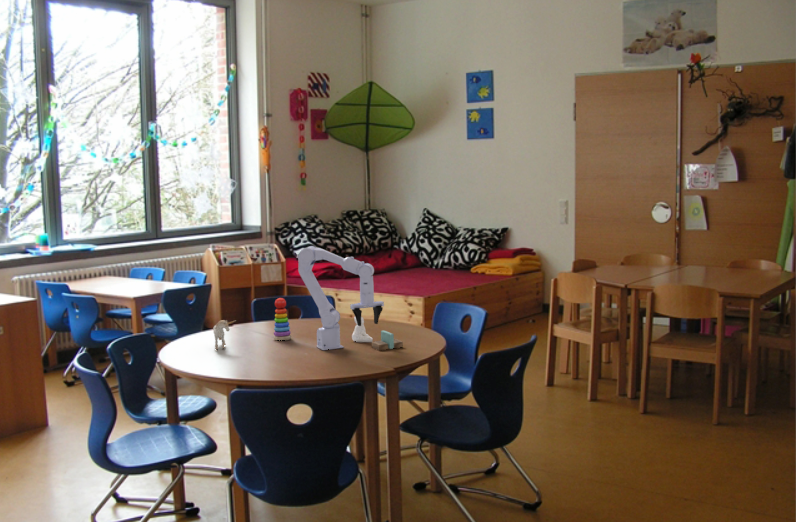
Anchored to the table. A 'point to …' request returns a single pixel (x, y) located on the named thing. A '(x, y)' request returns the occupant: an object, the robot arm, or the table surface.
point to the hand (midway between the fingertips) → (367, 324)
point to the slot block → (383, 346)
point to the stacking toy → (281, 321)
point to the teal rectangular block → (388, 338)
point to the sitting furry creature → (360, 333)
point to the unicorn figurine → (220, 331)
